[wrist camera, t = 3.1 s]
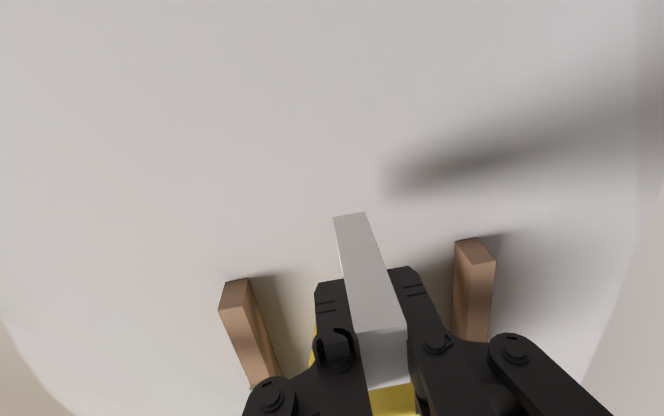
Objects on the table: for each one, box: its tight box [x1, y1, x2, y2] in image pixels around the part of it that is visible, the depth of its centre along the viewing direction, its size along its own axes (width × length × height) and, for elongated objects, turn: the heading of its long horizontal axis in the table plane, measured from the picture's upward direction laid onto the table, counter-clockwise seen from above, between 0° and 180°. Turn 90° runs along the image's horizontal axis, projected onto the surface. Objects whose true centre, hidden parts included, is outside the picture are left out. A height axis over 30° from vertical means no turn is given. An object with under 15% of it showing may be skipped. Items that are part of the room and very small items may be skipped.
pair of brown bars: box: [218, 238, 496, 392], centre depth 26 cm, size 19×17×3 cm
